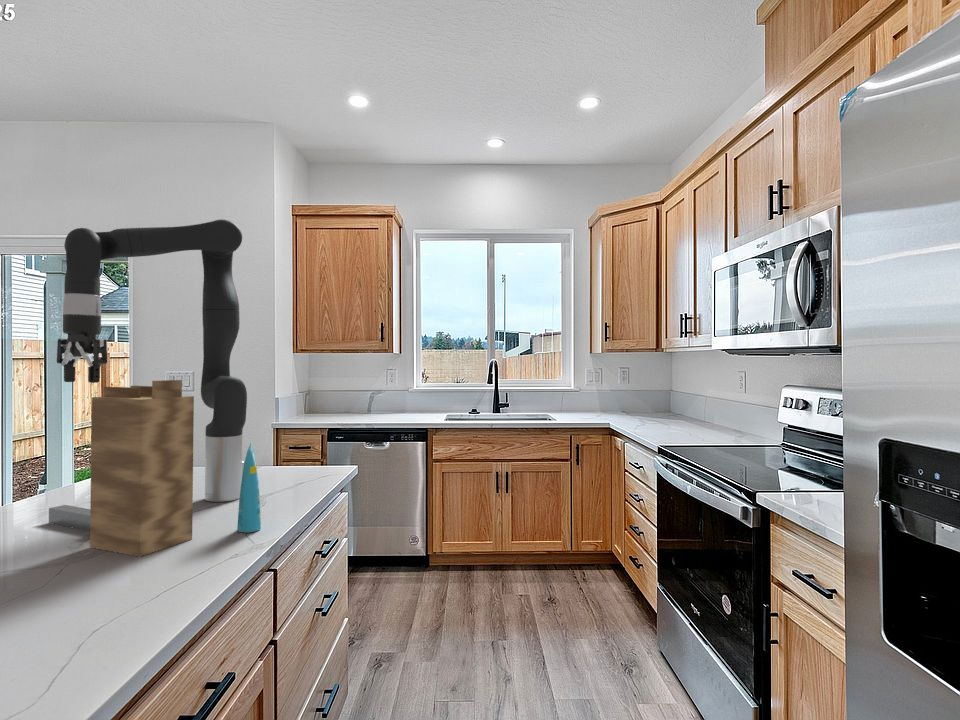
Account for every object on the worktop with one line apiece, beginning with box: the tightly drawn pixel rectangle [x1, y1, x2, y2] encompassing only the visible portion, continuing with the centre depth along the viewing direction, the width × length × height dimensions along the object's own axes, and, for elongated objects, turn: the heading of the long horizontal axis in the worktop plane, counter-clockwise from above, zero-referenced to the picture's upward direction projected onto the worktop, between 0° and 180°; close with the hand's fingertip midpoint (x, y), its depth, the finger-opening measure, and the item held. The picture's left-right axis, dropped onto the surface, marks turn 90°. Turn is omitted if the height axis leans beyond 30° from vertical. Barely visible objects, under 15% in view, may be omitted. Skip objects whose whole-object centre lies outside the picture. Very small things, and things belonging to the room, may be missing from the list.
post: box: [89, 379, 195, 557], centre depth 119 cm, size 12×14×34 cm
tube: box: [236, 441, 262, 533], centre depth 129 cm, size 7×5×19 cm, turn 26°
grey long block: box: [48, 504, 90, 532], centre depth 130 cm, size 6×21×4 cm, turn 66°
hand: (81, 382), depth 138 cm, fingers open, 8 cm apart
